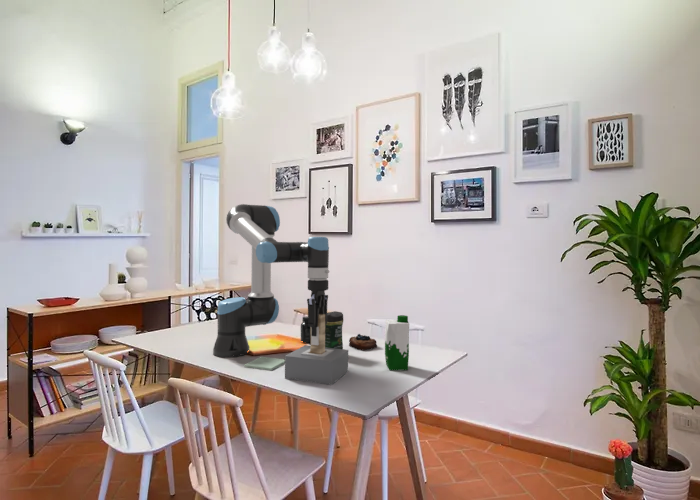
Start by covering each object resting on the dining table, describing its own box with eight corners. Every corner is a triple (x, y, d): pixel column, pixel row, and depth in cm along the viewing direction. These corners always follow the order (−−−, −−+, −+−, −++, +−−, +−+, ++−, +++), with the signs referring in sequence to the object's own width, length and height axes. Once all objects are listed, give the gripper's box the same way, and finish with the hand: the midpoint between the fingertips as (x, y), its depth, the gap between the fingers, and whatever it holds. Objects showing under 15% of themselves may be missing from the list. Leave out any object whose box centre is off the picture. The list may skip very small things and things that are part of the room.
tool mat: (244, 366, 157) (244, 364, 157) (261, 358, 168) (261, 356, 168) (271, 370, 153) (271, 368, 153) (287, 361, 164) (287, 359, 164)
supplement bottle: (316, 340, 199) (317, 316, 199) (311, 344, 193) (311, 318, 193) (304, 339, 202) (304, 315, 201) (298, 342, 195) (298, 317, 195)
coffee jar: (331, 359, 168) (332, 314, 168) (317, 355, 173) (318, 312, 173) (346, 354, 176) (346, 311, 175) (332, 351, 181) (332, 309, 180)
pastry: (365, 343, 197) (365, 331, 197) (380, 348, 187) (380, 335, 186) (346, 346, 191) (346, 333, 191) (360, 351, 181) (360, 338, 180)
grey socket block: (284, 378, 144) (284, 354, 144) (305, 365, 159) (305, 344, 159) (331, 384, 138) (331, 360, 137) (348, 371, 153) (348, 348, 153)
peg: (310, 353, 147) (310, 315, 147) (315, 351, 151) (315, 313, 150) (320, 355, 145) (320, 316, 145) (325, 352, 149) (325, 314, 149)
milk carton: (410, 370, 154) (411, 318, 153) (387, 371, 153) (387, 318, 152) (405, 364, 162) (406, 314, 162) (383, 364, 161) (383, 314, 161)
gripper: (317, 281, 138) (317, 349, 139) (336, 277, 154) (336, 339, 155) (298, 280, 141) (297, 347, 141) (318, 277, 157) (318, 337, 157)
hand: (317, 343), depth 148 cm, fingers closed on peg, 4 cm apart
